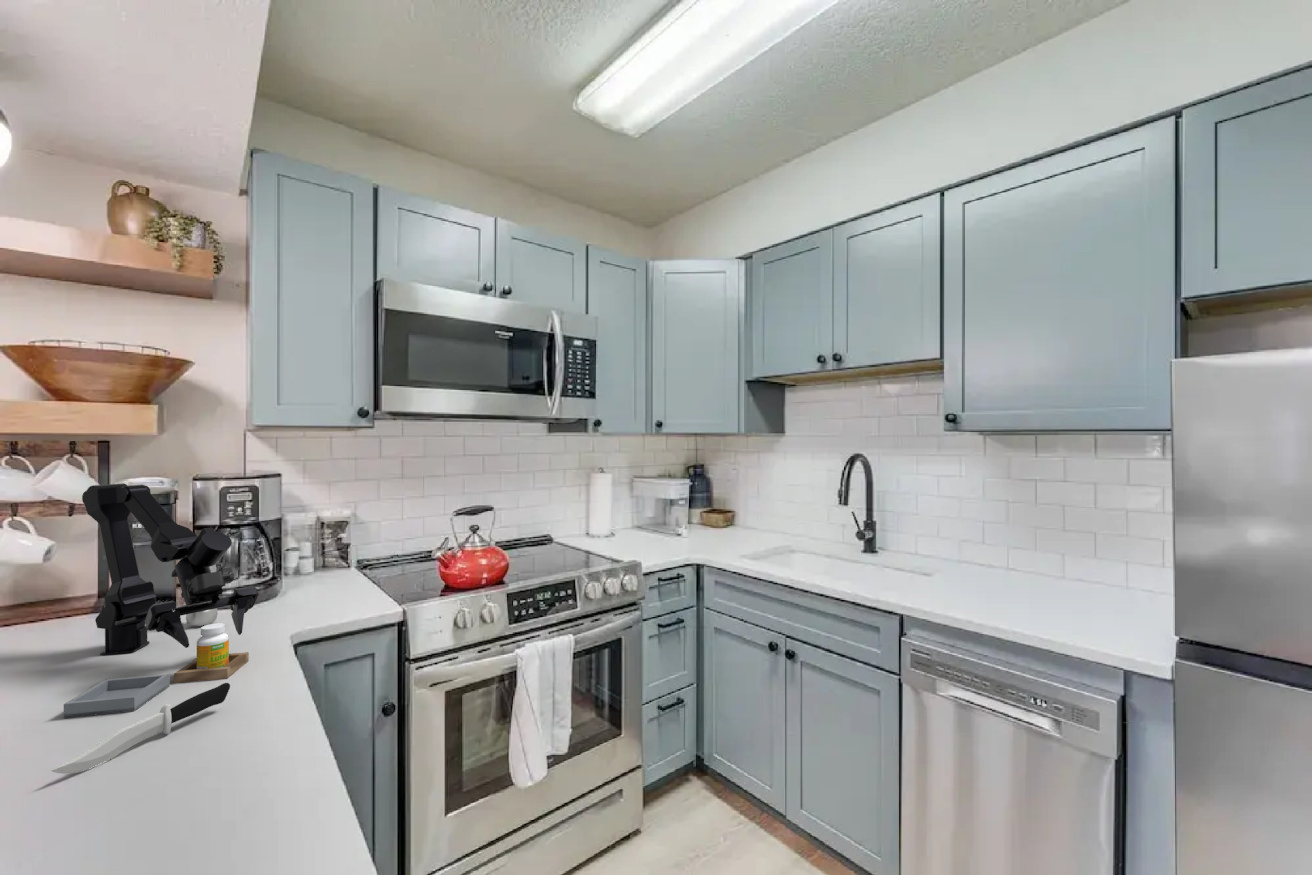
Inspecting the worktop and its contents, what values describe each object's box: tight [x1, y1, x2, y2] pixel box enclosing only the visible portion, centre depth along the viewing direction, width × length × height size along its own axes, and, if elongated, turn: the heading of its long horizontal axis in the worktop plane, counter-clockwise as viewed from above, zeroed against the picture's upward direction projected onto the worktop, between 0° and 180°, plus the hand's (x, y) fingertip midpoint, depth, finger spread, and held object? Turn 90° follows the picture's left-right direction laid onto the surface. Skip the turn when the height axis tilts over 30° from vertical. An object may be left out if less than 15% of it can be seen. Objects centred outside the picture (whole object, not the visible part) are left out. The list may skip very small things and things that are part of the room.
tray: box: [63, 673, 171, 719], centre depth 107 cm, size 11×11×2 cm
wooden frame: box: [173, 651, 250, 684], centre depth 121 cm, size 9×9×2 cm
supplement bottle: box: [196, 622, 230, 669], centre depth 121 cm, size 5×5×10 cm
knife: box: [50, 682, 231, 775], centre depth 93 cm, size 25×2×5 cm, turn 163°
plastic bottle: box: [185, 564, 219, 627], centre depth 152 cm, size 6×7×20 cm
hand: (214, 639), depth 120 cm, fingers open, 9 cm apart
